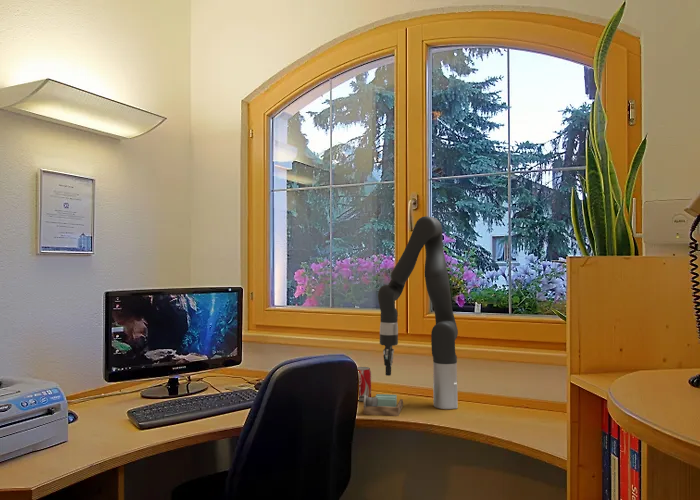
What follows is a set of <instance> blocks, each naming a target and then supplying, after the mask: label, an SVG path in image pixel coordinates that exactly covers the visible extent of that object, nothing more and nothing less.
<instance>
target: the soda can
mask: <svg viewBox="0 0 700 500" xmlns="http://www.w3.org/2000/svg"><path fill="white" fill-rule="evenodd" d="M357 367H358V371H359V401H358V402H364V399H363V398H360V396H365V395H367V397H372V371H371V368H370V367H369V366H357Z"/></svg>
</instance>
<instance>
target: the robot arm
mask: <svg viewBox="0 0 700 500" xmlns="http://www.w3.org/2000/svg"><path fill="white" fill-rule="evenodd" d="M423 247H424V248H425V262H424V263H425V264H424V280H425V281H424V282H425V286H426V291H427V295H428V297H429V299H430V302H431V305H432V307H433V312H434V318H435V324H434V326H432V329H431V331H430V332H431V333H430V334H431V335H430V336H431V337H430V340H431V341H430V342H431V355H432V365H433V366H432V367H433V368H432V369H433V370H432V372H433V375H432V376H433V377H432V378H433V383H432V385H433V387H432V389H433V390H432V391H433V400H432V401H433V407H435V408H437V409H442V410H443V409H444V410H452V409H458V356H457V354H456V340H457V338H458V335H459V332H458V331H459V330H458V326H457V322H456V317H455V315H454V311H453V306H452V294H451V286H450V279H449V273H448V269H447V267H448V266H447V263H446V262H447V261H446V257H445V252H444V243H443V227H442V224H441V222H440V221H439V219H437V218H436V217H433V216H427V215H426V216H422V217H420V218H418V219H417V221H416V222H415V224H414V227H413V230H412V232H411V235H410V237H409V240H408V241H407V244H406V246H405V249H404V251H403V252H402V254H401V256H400V258H399V259H398V261H397V263H396V264H395V266H394V268H393V270H392V271H391V273H390V278H391V279H390V281H389V283H388V284H384V285H382V286H380V288H379V290H378V293H377V298H378V305H379V310H380V323H379V324H380V325H379V345H381V346H384V349H383V350H382V351H383V362H384V363H383V364H384V366H385V376H386V377H387V376H388V377H390V376H392V367H393V363H394V361H393V360H394V353H395V349H394V348H393V346H397V345H398V344H399V326H398V310H397V308H395V302H396V301H397V300H399V299H400V297H401V295H402V293H403V291H404V288H405V285H406V282H407V281H408V279H409V278H410V276H411V274H412V273H413V271H414V269H415V266H416V264H417V262H418V258H419V256H420V253H421V250H422V249H423Z"/></svg>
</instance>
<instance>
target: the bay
mask: <svg viewBox="0 0 700 500" xmlns="http://www.w3.org/2000/svg"><path fill="white" fill-rule="evenodd" d="M375 397H376V396H374V397H372V396H371V397H367V395H365V396H360V398H363V399H364V401H363V415H370V416H371V415H372V416H373V415H375V416H392V417H394V416H395V417H399V415H400V414H401V411H402V408H403V407H404V399H402V398H400V399H399V401H398V402H397V405H396V407H387V406H377V404H378V399H377V398H375Z"/></svg>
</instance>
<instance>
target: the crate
mask: <svg viewBox="0 0 700 500" xmlns="http://www.w3.org/2000/svg"><path fill="white" fill-rule="evenodd" d="M374 397H375V398H377V399H378V404H377V406H387V407H397V405H398V398H397V397H398V396H397V394H387V393H386V394H383V393H381V394H380V393H379V394H378V393H376V394H375V396H374Z"/></svg>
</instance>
